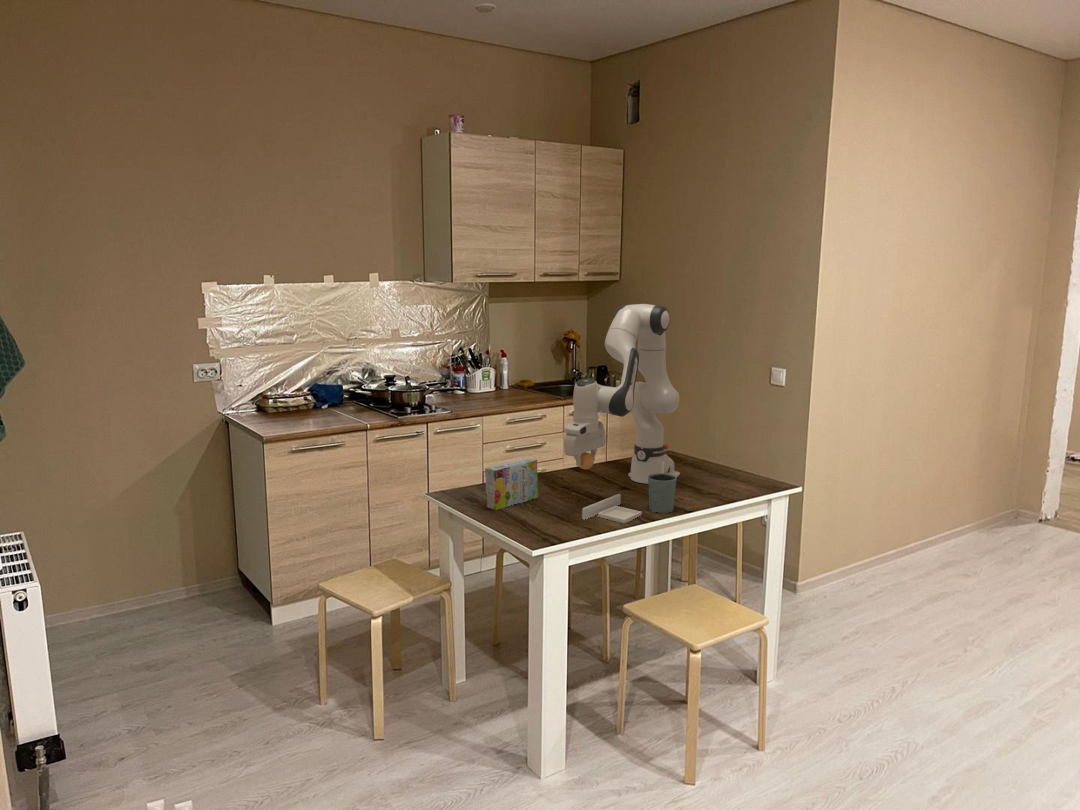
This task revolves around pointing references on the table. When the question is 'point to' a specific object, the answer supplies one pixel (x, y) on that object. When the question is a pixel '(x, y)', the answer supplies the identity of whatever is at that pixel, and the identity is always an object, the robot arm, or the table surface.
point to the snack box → (511, 483)
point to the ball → (586, 461)
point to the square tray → (619, 514)
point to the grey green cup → (661, 492)
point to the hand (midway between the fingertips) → (585, 463)
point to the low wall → (601, 506)
